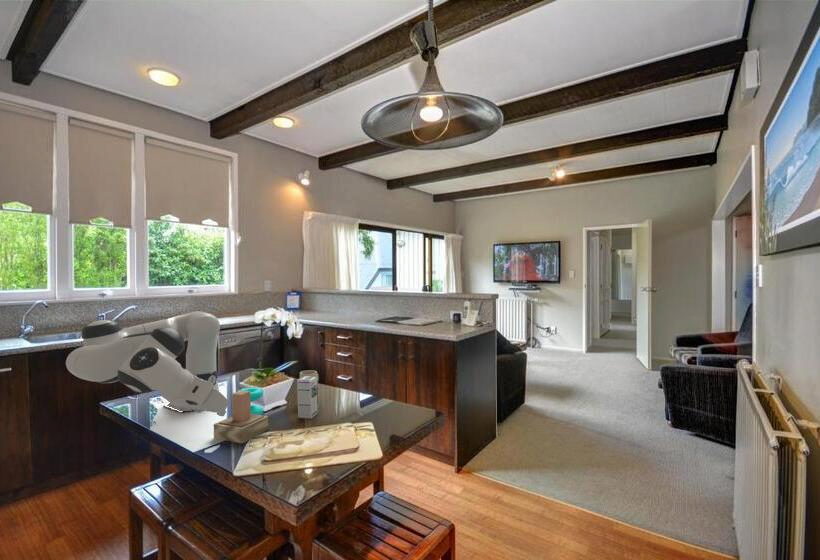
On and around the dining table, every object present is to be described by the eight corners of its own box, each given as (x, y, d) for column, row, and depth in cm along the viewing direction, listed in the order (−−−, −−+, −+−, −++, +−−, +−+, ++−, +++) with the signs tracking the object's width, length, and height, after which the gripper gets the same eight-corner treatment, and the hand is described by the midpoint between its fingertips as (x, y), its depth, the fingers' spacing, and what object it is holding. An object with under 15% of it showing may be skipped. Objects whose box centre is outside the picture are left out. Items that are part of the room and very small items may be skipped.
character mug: (312, 397, 168) (312, 368, 168) (324, 400, 164) (323, 370, 164) (292, 404, 159) (292, 373, 159) (303, 408, 155) (303, 376, 155)
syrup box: (311, 418, 143) (311, 380, 143) (297, 417, 144) (297, 379, 144) (318, 413, 149) (318, 376, 149) (304, 412, 150) (304, 375, 150)
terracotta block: (232, 420, 128) (232, 393, 128) (241, 416, 132) (241, 390, 132) (241, 421, 127) (241, 394, 127) (250, 417, 131) (250, 391, 131)
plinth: (213, 438, 126) (213, 423, 126) (241, 425, 137) (241, 411, 137) (242, 443, 122) (242, 427, 122) (268, 429, 133) (268, 415, 133)
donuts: (268, 388, 149) (247, 395, 140) (268, 414, 149) (247, 422, 140) (250, 385, 153) (228, 392, 144) (250, 410, 153) (229, 418, 144)
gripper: (149, 395, 111) (180, 417, 120) (202, 403, 103) (230, 426, 113) (164, 376, 115) (193, 399, 124) (215, 382, 108) (242, 406, 117)
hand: (211, 412), depth 118 cm, fingers open, 8 cm apart
